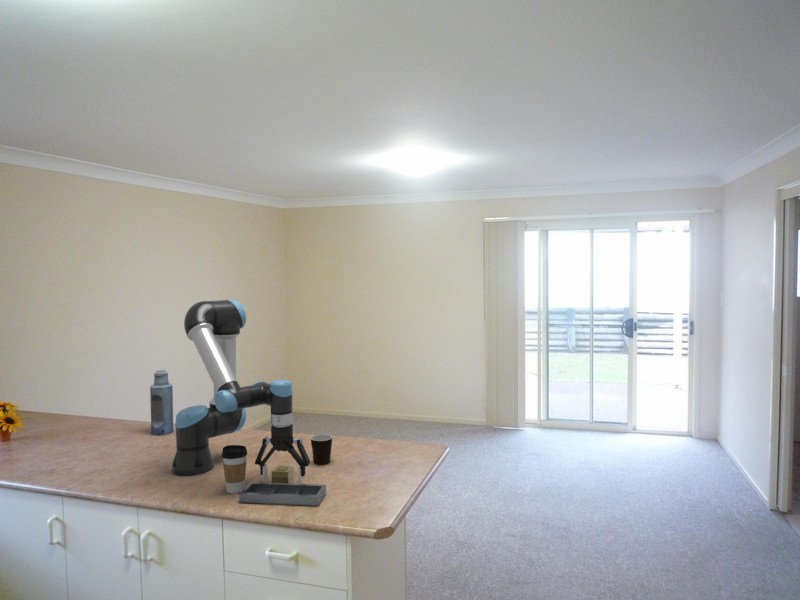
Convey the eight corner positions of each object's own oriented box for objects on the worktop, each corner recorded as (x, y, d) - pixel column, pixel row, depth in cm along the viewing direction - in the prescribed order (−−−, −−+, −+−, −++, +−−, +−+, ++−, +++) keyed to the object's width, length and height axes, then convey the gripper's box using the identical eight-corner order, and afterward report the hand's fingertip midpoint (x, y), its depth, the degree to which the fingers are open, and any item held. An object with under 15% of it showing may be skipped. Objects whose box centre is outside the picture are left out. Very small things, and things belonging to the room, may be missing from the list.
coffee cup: (225, 485, 187) (224, 443, 186) (250, 484, 188) (249, 443, 187) (219, 495, 179) (218, 451, 178) (245, 494, 179) (244, 450, 179)
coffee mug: (328, 466, 205) (328, 441, 204) (307, 465, 206) (307, 440, 206) (338, 456, 216) (337, 432, 216) (318, 455, 218) (317, 431, 217)
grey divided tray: (239, 502, 172) (239, 493, 172) (251, 490, 182) (251, 482, 182) (318, 506, 169) (318, 497, 169) (326, 493, 179) (325, 484, 179)
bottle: (146, 435, 248) (144, 371, 247) (159, 429, 258) (157, 368, 256) (165, 436, 246) (163, 372, 245) (177, 430, 256) (175, 368, 255)
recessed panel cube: (271, 488, 185) (271, 470, 184) (277, 481, 191) (277, 464, 190) (288, 488, 184) (288, 471, 184) (293, 482, 190) (293, 464, 190)
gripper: (244, 426, 184) (245, 487, 185) (312, 428, 181) (313, 489, 182) (252, 420, 191) (254, 479, 192) (318, 422, 189) (319, 481, 190)
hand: (283, 484), depth 187 cm, fingers open, 12 cm apart
